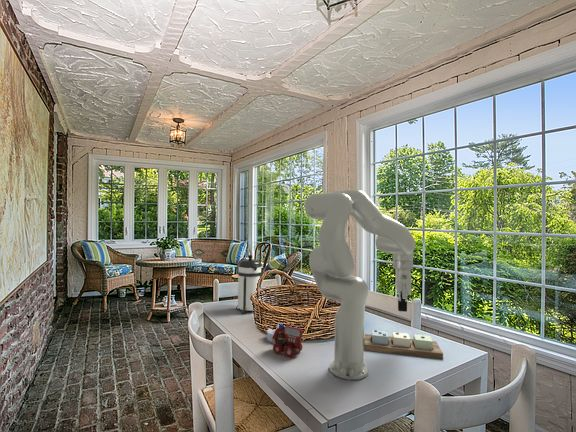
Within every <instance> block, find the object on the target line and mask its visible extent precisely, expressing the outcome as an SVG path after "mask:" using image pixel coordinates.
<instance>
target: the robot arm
mask: <svg viewBox="0 0 576 432" xmlns="http://www.w3.org/2000/svg"><path fill="white" fill-rule="evenodd" d="M304 210H305V213H306V215H308V217H310V218H311V219H315V220H323V221H322V223H321V225H320V228H319V230H318V235H317V237H318V244H319V245H318V246H316V247H314V248H312V250H311V251H310V253H309V258H308V264H309V265H308V266H309V269H310V272H311V274H312V276H313V279H314V282H315V284H316V286H317V289H318V291H319V292H320V295H322V296H323V297H324V298H326V299H328V300H331V301H335V302H338V303H340V306H339V308H338V309H337V310H336V312H335V316H334V353H333V354H334V355H333V357H334V360H332V361H331V362H330V363H329V365H328V366H329V372H330V373H331V374H332V375H334V376H335V377H338V378H339V379H344V380H352V381H357V380H361V379H364V378H366V377H367V376H368V375H369V368H368V367H367V365H365V363H364V355H365V354H364V351H365V350H364V338H365V314H366V313H365V311H366V306H367V299H368V295H369V286H368V284H367V283H366V281H365V280H364V279H363V278H361V277H358V276H357V275H352V274H353V272H354V270H355V262H354V257H353V254H352V251H351V248H350V246H349V243H348V240H347V236H346V226H347V223H348V220H349V218H350V216H351V217H352V218H353V219H354V220H355V221H356V222H357V223H358V225H360V227H361V228H362V229H363V230H364V231H366V232H368V233H369V234H372V235H376V236H377V238H376V239H375V246H376V248H377V250H378V251H380V252H382V253H386V254H392V269H394V270H395V287H396V288H395V289H396V292H397V295H398V299H397V310H398V312H404V313H405V312H408V300H407V299H408V296H412V273H411V270H414V251H415V249H416V242H415V238H414V236H413V235H412V234H413V233H411V232H410V230H409V228H407V227H406V226H405V225H404V224H403V223H400V222H399V221H397V220H395V219H393V218H392V217H390V216H388V215H386V214H384V213H383V212H382V211H381V210H380V209H379V208H378V206H376V204H375V203H374V201H373V200H372V199H371V198H370V197H369V195H368V194H367V193H366V192H365V191H363V190H360V189H347V190H335V191H330V192H321V193H319V192H318V193H313V194H311V195H309V196H308V197H307V198H306V199H305V202H304Z"/></svg>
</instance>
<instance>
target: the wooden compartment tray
mask: <svg viewBox="0 0 576 432" xmlns="http://www.w3.org/2000/svg"><path fill="white" fill-rule="evenodd" d="M432 341H433V340H432ZM364 351H371V352H378V353H385V354H387V353H388V354H396V355H397V354H398V355H405V356H413V357H423V358H429V359H430V358H431V359H439V360H444V353H443V351H442V350H441V348H440V345H439V344H438V342H437V341H436V340H435V341H433V349H424V348H416V347H415V345H414V342H413V338H410V347H406V346H397V345H394V344H393V340H392V336H389V335H388V344H379V343H372V334H368V333H364Z"/></svg>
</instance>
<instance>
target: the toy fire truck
mask: <svg viewBox="0 0 576 432" xmlns="http://www.w3.org/2000/svg"><path fill="white" fill-rule="evenodd" d="M279 332H280V333H279ZM302 337H303V329H302V328H301V327H299V328H297V327H292V326H285V327H284V325H283V324H280V325H279V328H277V329H276V331H275V333H274V335H273V338H272V340H273V341H272V342H271V343H272V349H273V352H274V354H276V355H281V354H282V353H283V352H284V355H285V357H286V358H288V359H292V358H293V357H295V355H296V354H298V353H300V352H301V351H302V350H303V344H302Z"/></svg>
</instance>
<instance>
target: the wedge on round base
mask: <svg viewBox="0 0 576 432" xmlns="http://www.w3.org/2000/svg"><path fill="white" fill-rule="evenodd" d="M276 327H277V328H279V324H278V323H277V326H276ZM284 327H285V326H284ZM277 328H276V329H277ZM275 331H276V330H272V329H269V328H268V329H267V330H266V340H267V342H270V343H272V341H273V340H272V338H273V335H274V333H275ZM279 333H280V332H279Z"/></svg>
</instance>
